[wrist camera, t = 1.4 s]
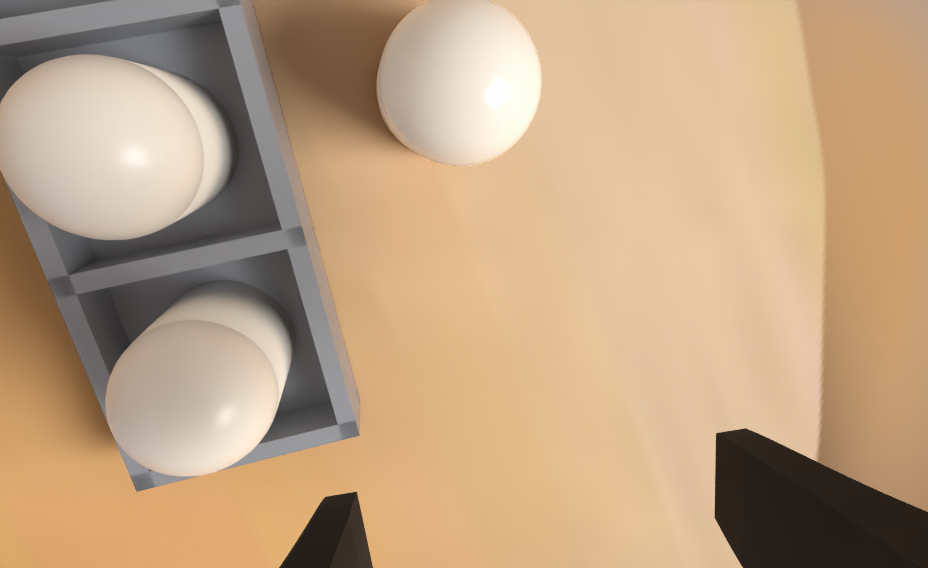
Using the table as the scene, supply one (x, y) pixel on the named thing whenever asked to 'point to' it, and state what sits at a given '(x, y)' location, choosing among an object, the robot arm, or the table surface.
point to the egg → (459, 81)
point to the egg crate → (173, 229)
